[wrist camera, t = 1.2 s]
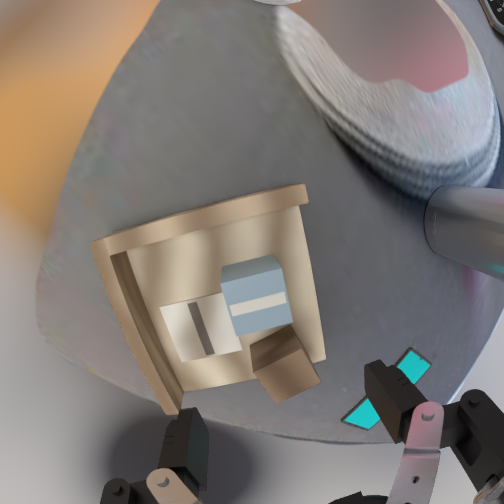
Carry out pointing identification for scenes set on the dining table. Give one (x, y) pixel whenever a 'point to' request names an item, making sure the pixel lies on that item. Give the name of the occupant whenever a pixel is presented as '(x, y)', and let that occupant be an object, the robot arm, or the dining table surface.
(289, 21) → the dining table surface
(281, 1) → the mug
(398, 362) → the flat teal bar
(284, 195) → the tray
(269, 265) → the block
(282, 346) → the walnut block
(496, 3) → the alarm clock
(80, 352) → the dining table surface
